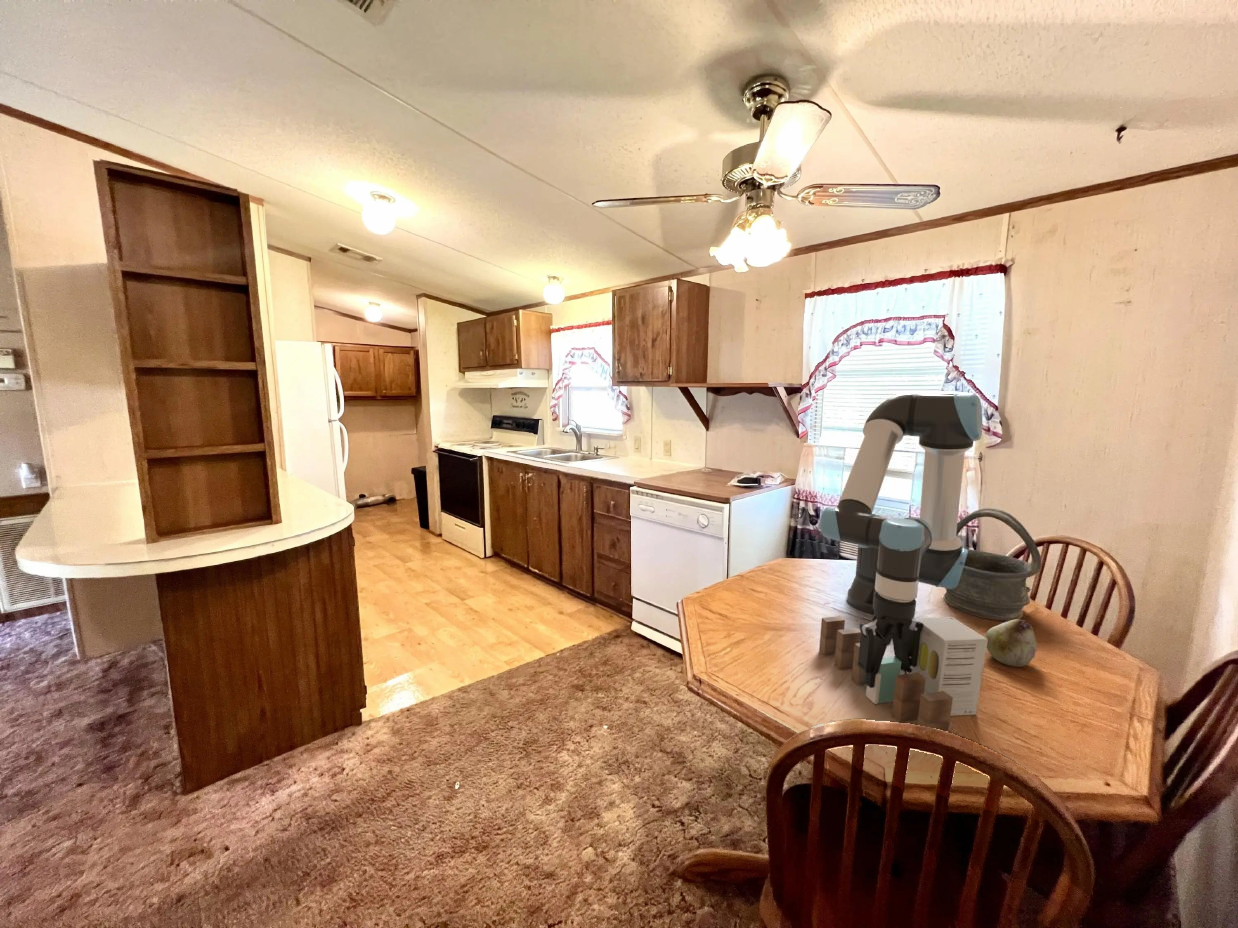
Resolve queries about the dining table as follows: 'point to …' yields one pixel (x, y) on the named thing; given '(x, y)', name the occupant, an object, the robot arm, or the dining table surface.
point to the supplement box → (951, 661)
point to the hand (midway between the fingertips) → (883, 697)
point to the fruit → (1012, 642)
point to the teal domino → (888, 678)
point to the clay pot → (994, 576)
